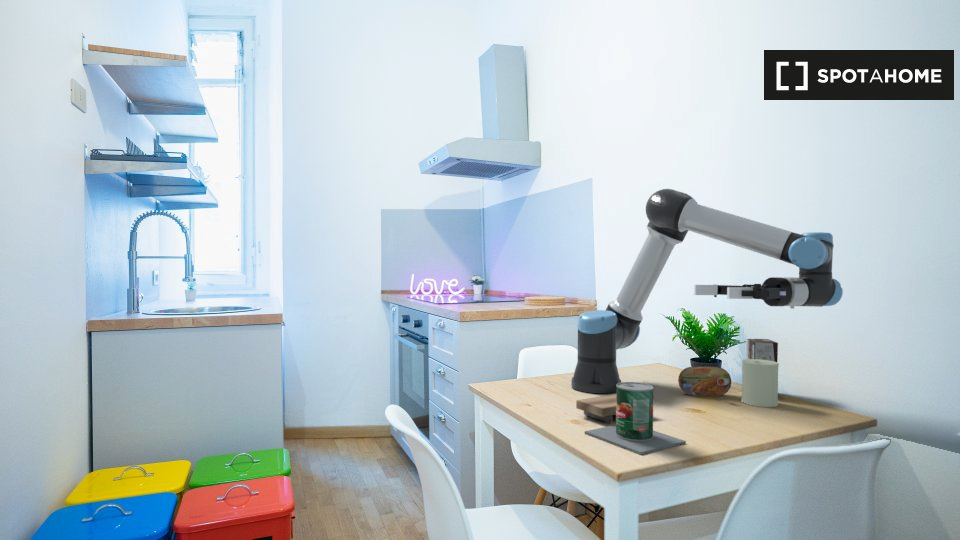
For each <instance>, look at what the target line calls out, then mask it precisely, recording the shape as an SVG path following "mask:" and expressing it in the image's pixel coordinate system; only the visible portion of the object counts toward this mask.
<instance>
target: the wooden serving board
mask: <svg viewBox="0 0 960 540" xmlns="http://www.w3.org/2000/svg"><path fill="white" fill-rule="evenodd" d="M616 395H617V394H616V393H611V394H607V395H602V396H601V395H600V396H595V397H590V398H589V397H588V398H582V399H576V405H575V406H576V409H578V410H580V411H582V412H583V415H584V416H586V417H587V416H588V417H590V418H593V419H597V420H598V421H602V422H605V423H608V424H611V423H613V420H614V416H616Z"/></svg>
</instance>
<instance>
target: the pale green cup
mask: <svg viewBox="0 0 960 540" xmlns="http://www.w3.org/2000/svg"><path fill="white" fill-rule="evenodd" d="M741 362H742V363H741V364H742V367H741V368H742V371H741V373H742V374H741V375H742V378H741V379H742V380H741V381H742V383H741V399H740V401H741V402H742V403H743V402H744V403H743V404H745V403H746V404H745V405H748V404H749V406H752V405H753V406H752V407H758V406H759V407H760V408H775V407H778V406H779V401H778V400H779V399H778V398H779V397H778V396H779V395H778V394H779V391H778V390H779V387H778V386H779V362H778V361H777V362H774V361H769V360H760V359H747V358H746V359H742V360H741ZM759 407H758V408H759Z"/></svg>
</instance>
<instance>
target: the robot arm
mask: <svg viewBox="0 0 960 540" xmlns="http://www.w3.org/2000/svg"><path fill="white" fill-rule="evenodd" d="M645 215H646V217H647V219H648V223H647V225H646V229H647V231H648V234H647V236H646V239H645V241H644V242H643V244H642V247H641V248H640V251H639V253H638V254H637V256H636V259H635V261H634V263H633V264H632V267H631V269H630V271H629V273H628V275H627V277H626V279H625V281H624V283H623V285H622V287H621V289H620V291H619V293H618V294H617V297H616V299H615V300H612V301H610V302H608V304H607V307H606V308H605V309H602V310H601V309H597V310H588V311H585V312H582V313H580V314H579V316H578V319H577V320H578V321H577V362H576V366H575V369H574V373H573V376H572V378H571V385H570V386H571V389H573V390H576V391H578V392H583V393H584V392H585V393H591V394H616V391H617V386H616V384H618V383H621V382H622V380H621V379H620V375H619V374H620V372H619V369H618V367H617V350H622V349H625V348H627V347H629V346H631V345H633V343H636V341H637V339H638V337H639V336H640V331H641V327H640V324H641V323H642V321H643V314H642V310H643V309H644V307H645V305H646V302H647V300H648V299H649V296H650V295H651V293H652V291H653V289H654V287H655V285H656V283H657V281H658V279H659V277H660V276H661V274H662V271H663V269H664V268H665V266H666V264H667V262H668V260H669V258H670V256H671V254H672V252H673V250H674V248H675V246H676V245H678V244H681V243H683V242H684V240H685V237H686V236H687V234H688V232H693V233H695V234H699V235H702V236H705V237H708V238H710V239H711V238H712V239H713V240H716V241H720V242H724V243H726V244H730V245H733V246H736V247H739V248H742V249H746V250H748V251H751V252H753V253H757V254H760V255H764V256H767V257H771V258H773V259H775V260H779V261H783V262H785V263H788V264H792V265H794V266H796V267H797V268H799V269H798V270H799V271H798V277H793V276H791V277H788V276H786V277H785V276H784V277H777V276H776V277H767V279H765V280H764V281H763V282H762V283H754V284H743V285H733V284H732V285H731V284H730V285H728V284H727V285H726V284H694V285H693V295H694V296H713V297H714V298H717V297H718V295H721V296H726V299H729V300H732V299H733V300H734V299H735V300H736V299H737V300H742V299H743V300H747V299H748V300H753V299H754V300H763V302H764V304H766V305H767V306H769V307H789V308H790V309H795V307H815V308H816V307H820V308H821V307H831V306H835V305H836V304H838V303H839V302H840V301H841V299H842V298H843V293H844V292H843V288H842V285H841V282H840V281H839V280H838V279H835V278H833V254H834V253H833V252H834V245H835V244H834V237H833V234H832V233H831V232H822V231H821V232H820V231H819V232H816V231H815V232H804V233H801V234H800V233H798V232H797V233H796V232H793V231H790V230H786V229H784V228H780V227H776V226H773V225H770V224H767V223H763V222H759V221H756V220H754V219H749V218H746V217H743V216H740V215H736V214H733V213H730V212H726V211H722V210H719V209H715V208H713V207H709V206H705V205H701V204H699V203H698V201H696V199H695V198H693V196H691V195H689V194H687V193H685V192H683V191H678V190H675V189H672V188H662V189H659V190H657V191H655V192H654V193H652V194H651V195H650V196H649V197H648V200H647V202H646V204H645Z"/></svg>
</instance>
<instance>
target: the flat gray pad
mask: <svg viewBox="0 0 960 540" xmlns="http://www.w3.org/2000/svg"><path fill="white" fill-rule="evenodd" d="M584 434H585V435H588V436H590V437H592V438H595V439H599V440H601V441H603V442H606V443H609V444H611V445H613V446H617V447H619V448H621V449H624V450H626V451H629V452H632V453H635V454H638V455H641V456H642V455H645V454H646V455H647V454H649V453H653V452H657V451H662V450H665V449H669V448H673V447H677V446H681V445H684V444H686V442H687V441H686V440H683V439H681V438H678V437H674V436H671V435H668V434H666V433H663V432H659V431H656V430H653V439H652V440H650V441H644V442H636V441H629V440H624V439H621V438H619V437H618V436H616V424H614V425H609V426H604V427H599V428H594V429H589V430H585V431H584ZM680 444H681V445H680ZM676 445H677V446H676Z"/></svg>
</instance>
